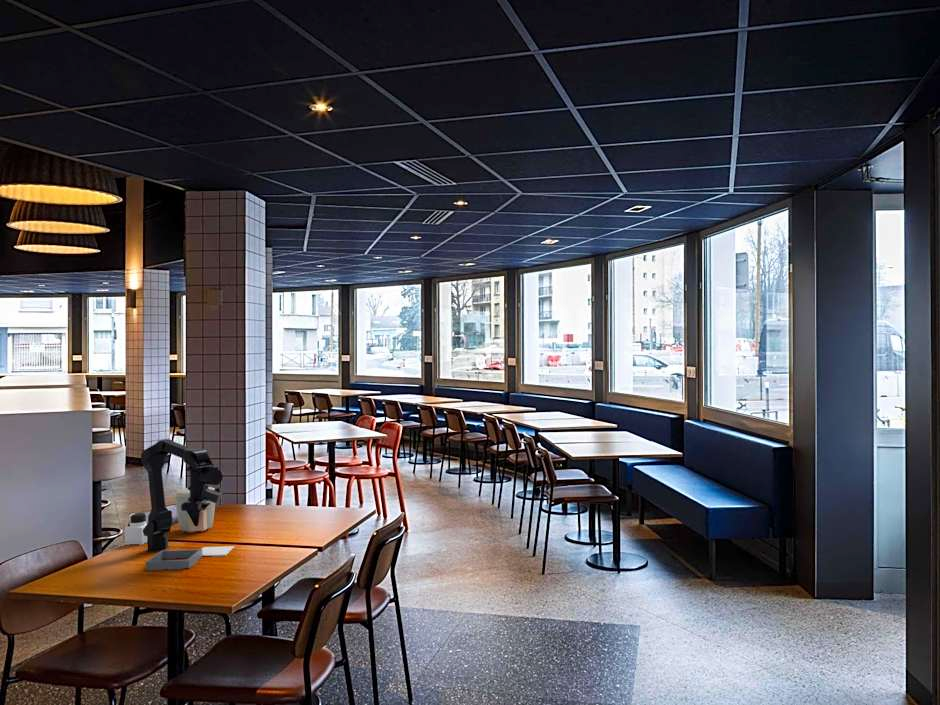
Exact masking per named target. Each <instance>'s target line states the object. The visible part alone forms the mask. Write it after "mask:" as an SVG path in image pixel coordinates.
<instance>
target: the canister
mask: <svg viewBox="0 0 940 705" xmlns="http://www.w3.org/2000/svg"><path fill="white" fill-rule="evenodd" d="M208 489H211V490H212V489H213V490H215V489H216V488H214V487H211V486H208ZM172 495H173V497H174V498H175V499H174V500H175V506H176V515H177V520H178V527H179V529H180V530H181V532H184V531H187V532H186V533H195V532H194V531H190V516H189V515H188V513H187V511H182V510H181V505H182V504H183V503H184V502H186V501H188V498H189V497H190V490H188V487H185V488H180V489H178V490H177V491H176V492H174V493H173V494H172ZM207 503H211V504H210V505H209V506H208V507H207V508H206V510H207V529H208V530H210V529H211V528H212V526H213V525H214V519H215V518H214V517H215V512H216V511H215V510H216V503H213V502H210V501H207ZM209 528H210V529H209ZM207 529H205V531H207Z"/></svg>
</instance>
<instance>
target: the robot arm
mask: <svg viewBox="0 0 940 705" xmlns="http://www.w3.org/2000/svg"><path fill="white" fill-rule="evenodd" d="M169 454H170V455H173V456H175V457H178V458H180V459H182V460H183V462H184V463H185V464H186V465H188V466H187V467H186V468H185V472H189V475H188V476H189V486H188V487H187V488H188V490H190V497H189V498H188V501H186V502H184V503H183V504H182V505H181V510H182V511H187V513H188V515H189V516H190V518H191V520H192V522H193V524H194V526H198V523H199V516H200V511H201V510H206V508H207V507H208V506H209V505H210V504H211V503H207V501H210V502H213V503H215V504H218V502H220V501H221V498H222V497H223V492H222V488H220V487H216V488H214V489H215V490H213V489H212V490H211V489H208V487H209V485H212V486H218V485H220V484H221V483H222V481H223V479H224V478H223V477H224V476H223V473H222V471H221V470H220V469H219V466H218V465H214V463H213V461H212V459H211V457H210V455H209V453H208V451H207V449H205V448H198V447H197V448H196V447H195V448H194V447H189V446H186V445H184V444H182V443H179V442H176V441H173V439H170V438H169V439H168V438H166V439H160V440H158V441H157V442H156V443H154V444H152V445H151V446H148V447H147V448H146V449H144V450H143V451H142V452H141V454H140V460H141V464H142V467H143V468H144V469H145V471H146V472H147V476H148V477H147V478H148V486H149V494H150V496H149V497H150V505H151V508H150V512H149V514H148V516H147V523H146V524H147V525H146V526H145V528H144V529H143V534H144V536H147V543H146V544H147V549H146V550H145V552H160V551H163V550H167V548H169V536H167V533H170V532H171V528H172V525H173V521H174V520H173V512H172V510H170V509H168V508H167V506H166V498H165V491H164V481H163V472H162V471H163V468H164V466H165V464H166V457H167V456H168V455H169Z"/></svg>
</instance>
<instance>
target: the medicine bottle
mask: <svg viewBox="0 0 940 705" xmlns="http://www.w3.org/2000/svg"><path fill="white" fill-rule="evenodd" d="M128 518H129V526H125V527H124V545H125V546H130V545H129V544H139V545H138V546H143V545H144V543H145V544H148V543H147V536H144V534H143V529H144V528H145V526H146V525H147V524H148V523H147V515H146V513H144V512H135V513H134V512H133V513H131V514H130V515H129V517H128ZM126 544H127V545H126ZM142 544H143V545H142Z"/></svg>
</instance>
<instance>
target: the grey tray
mask: <svg viewBox="0 0 940 705" xmlns="http://www.w3.org/2000/svg"><path fill="white" fill-rule="evenodd" d="M201 557H202V548H197V549H196V548H195V549H168V550H167V549H165V550H163V551H158V552H157V553H156V554H155V555H153V556H151V557H150V558H149V559H148V560H145V571H161V570H162V571H163V569H169V570H183V569H182V568H190V567H191V566H192V565H193V566H194V565H195V564H196V563H198V562H199V561H200V560H201V559H202V558H203V557H202V558H201ZM176 558H185V559H176ZM200 558H201V559H200ZM199 559H200V560H199ZM198 560H199V561H198ZM197 561H198V562H197ZM193 566H192V567H193ZM192 567H191V568H192ZM191 568H190V569H191Z"/></svg>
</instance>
